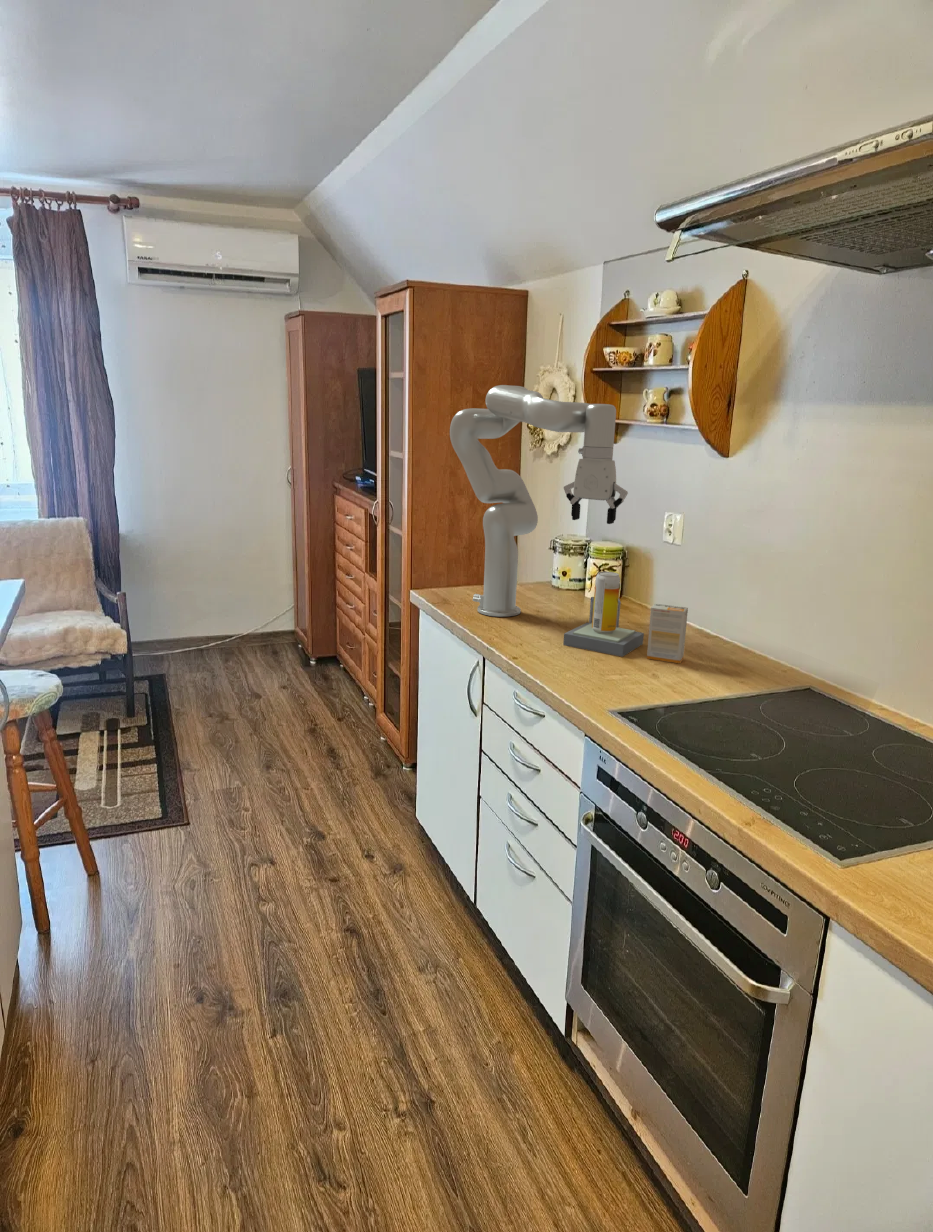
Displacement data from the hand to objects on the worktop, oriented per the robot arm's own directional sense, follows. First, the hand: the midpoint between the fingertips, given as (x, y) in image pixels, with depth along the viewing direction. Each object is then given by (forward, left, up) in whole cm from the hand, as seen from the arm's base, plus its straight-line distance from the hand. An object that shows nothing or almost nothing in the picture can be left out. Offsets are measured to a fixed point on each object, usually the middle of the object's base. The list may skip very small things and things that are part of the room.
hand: (592, 521), depth 211 cm
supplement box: (+25, -8, -31) cm, 40 cm away
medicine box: (+2, +8, -31) cm, 32 cm away
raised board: (+8, -6, -30) cm, 32 cm away
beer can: (+8, -6, -27) cm, 29 cm away
